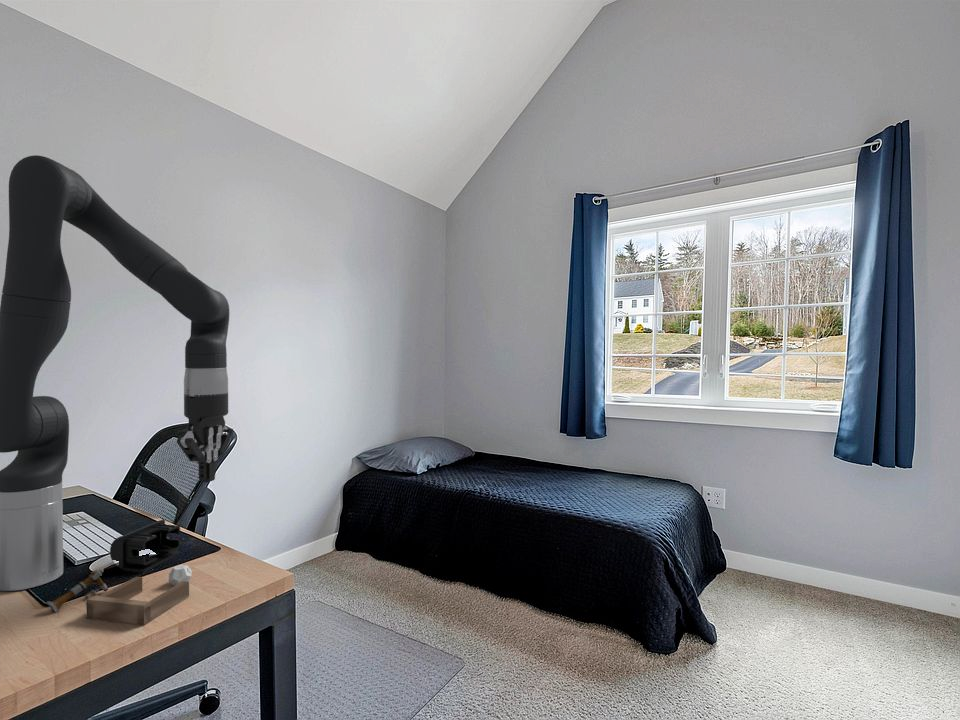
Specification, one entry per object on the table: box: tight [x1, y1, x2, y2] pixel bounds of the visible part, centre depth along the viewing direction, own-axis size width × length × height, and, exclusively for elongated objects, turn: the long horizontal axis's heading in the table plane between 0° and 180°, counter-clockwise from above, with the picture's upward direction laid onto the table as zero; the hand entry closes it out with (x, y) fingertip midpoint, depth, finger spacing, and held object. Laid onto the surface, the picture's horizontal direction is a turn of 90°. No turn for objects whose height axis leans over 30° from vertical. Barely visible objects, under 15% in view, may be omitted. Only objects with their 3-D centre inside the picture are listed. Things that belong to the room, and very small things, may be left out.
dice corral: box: [85, 576, 190, 626], centre depth 83 cm, size 10×9×3 cm
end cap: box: [109, 519, 181, 573], centre depth 100 cm, size 10×7×7 cm
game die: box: [168, 564, 193, 587], centre depth 91 cm, size 4×4×3 cm
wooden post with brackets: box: [46, 568, 110, 613], centre depth 84 cm, size 2×8×4 cm, turn 150°
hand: (207, 481), depth 98 cm, fingers closed
